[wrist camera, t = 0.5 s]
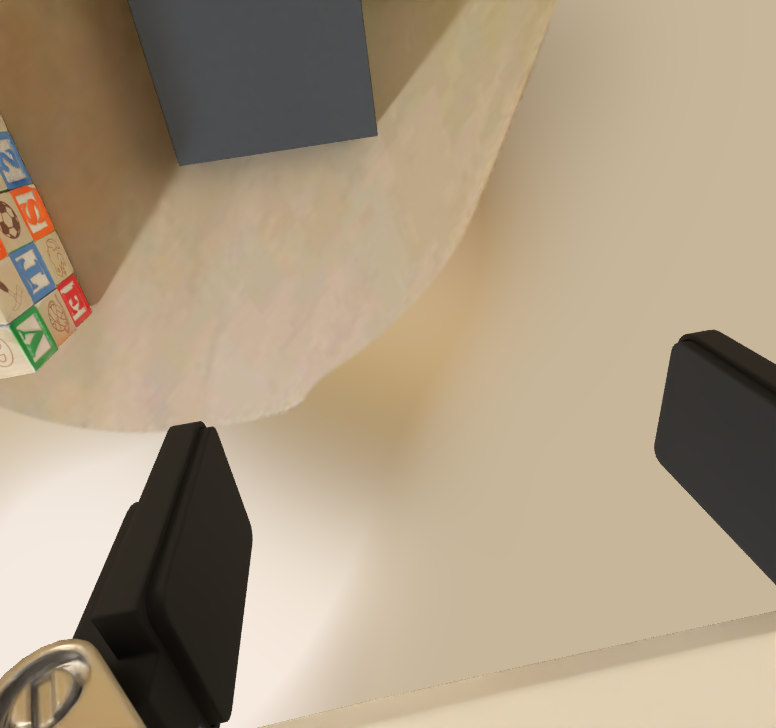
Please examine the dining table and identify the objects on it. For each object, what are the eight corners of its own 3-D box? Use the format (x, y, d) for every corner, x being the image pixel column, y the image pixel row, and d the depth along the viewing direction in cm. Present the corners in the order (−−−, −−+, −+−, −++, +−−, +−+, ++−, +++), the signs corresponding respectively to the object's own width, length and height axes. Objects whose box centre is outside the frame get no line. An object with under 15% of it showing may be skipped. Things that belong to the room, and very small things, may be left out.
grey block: (119, -79, 27) (95, -101, 24) (340, -106, 27) (344, -131, 24) (191, 159, 33) (179, 166, 30) (371, 131, 33) (377, 135, 30)
